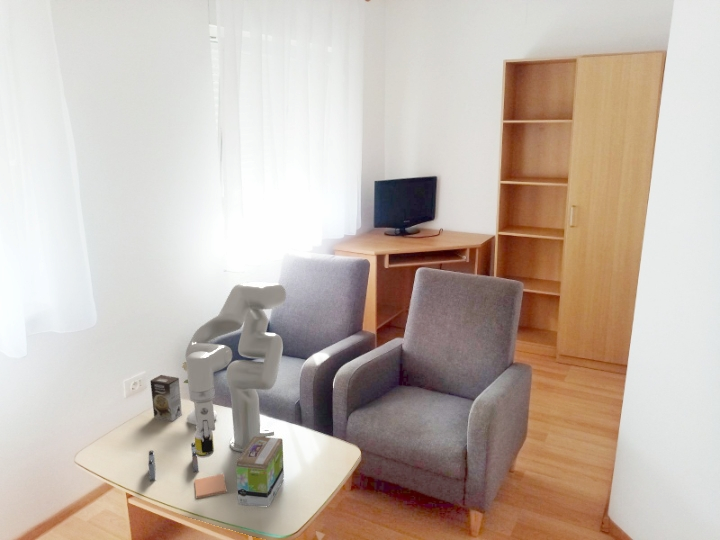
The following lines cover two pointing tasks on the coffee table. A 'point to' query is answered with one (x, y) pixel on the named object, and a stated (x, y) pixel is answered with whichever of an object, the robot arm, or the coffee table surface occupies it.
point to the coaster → (210, 486)
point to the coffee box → (166, 397)
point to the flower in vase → (192, 416)
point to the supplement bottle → (198, 444)
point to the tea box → (260, 471)
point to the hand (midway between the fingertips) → (206, 445)
